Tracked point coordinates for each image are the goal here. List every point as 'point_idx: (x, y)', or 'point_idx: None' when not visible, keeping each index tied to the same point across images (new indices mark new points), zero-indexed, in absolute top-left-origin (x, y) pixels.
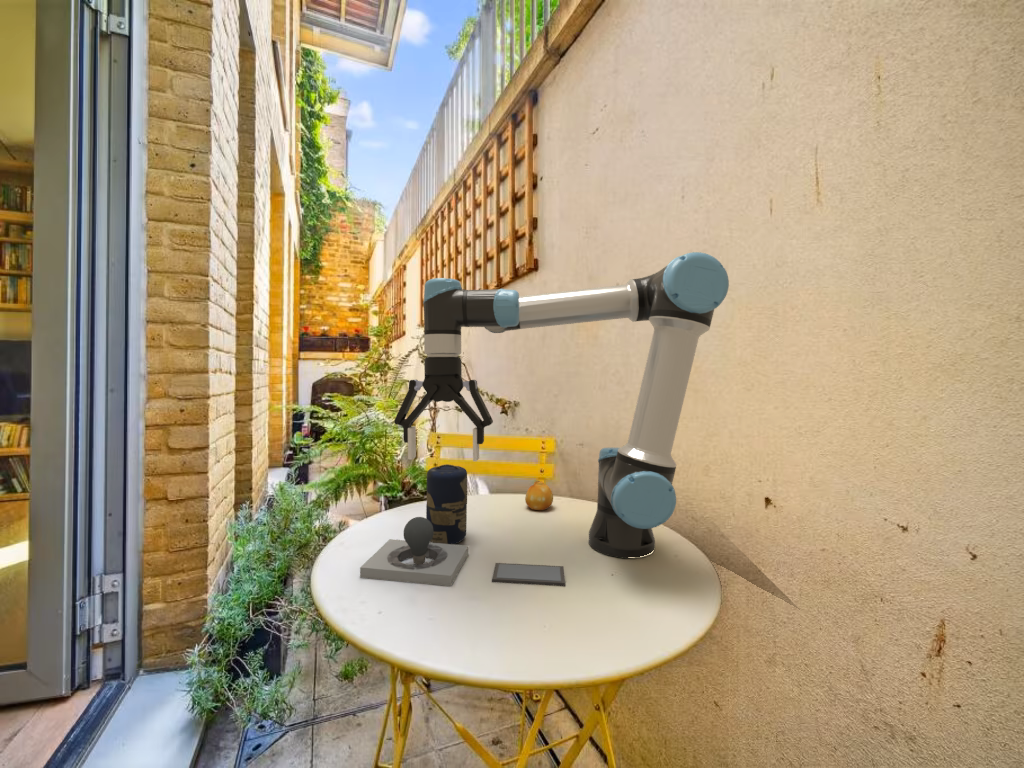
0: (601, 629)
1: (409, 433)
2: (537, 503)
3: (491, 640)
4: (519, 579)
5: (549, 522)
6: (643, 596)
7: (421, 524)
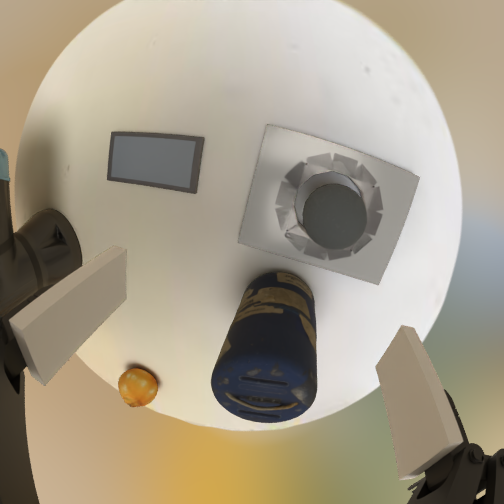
0: (105, 51)
1: (448, 417)
2: (139, 373)
3: (216, 12)
4: (163, 137)
5: (126, 332)
6: (57, 121)
7: (331, 200)
